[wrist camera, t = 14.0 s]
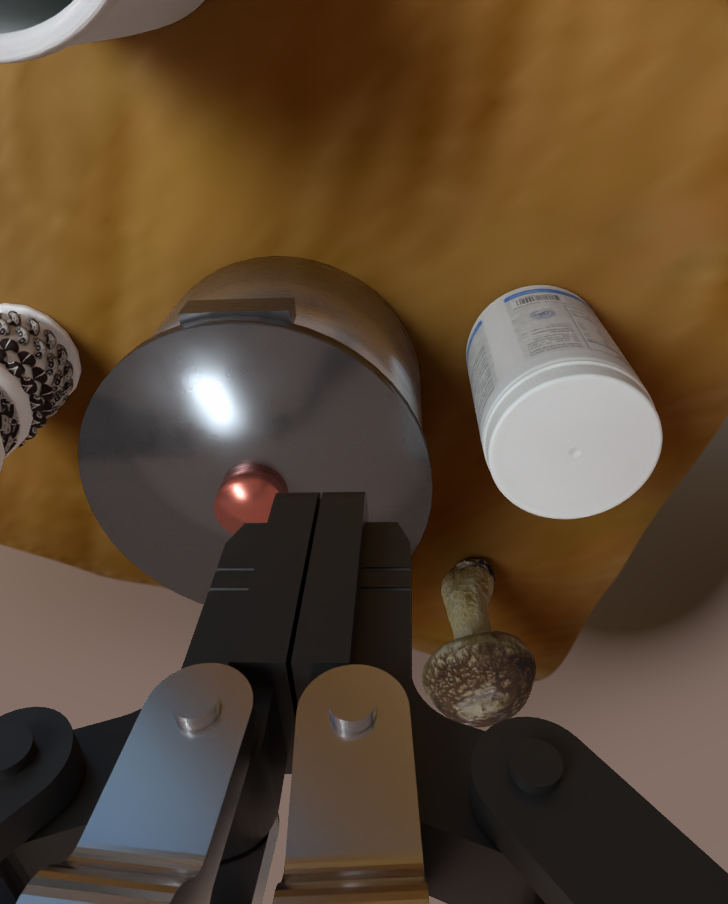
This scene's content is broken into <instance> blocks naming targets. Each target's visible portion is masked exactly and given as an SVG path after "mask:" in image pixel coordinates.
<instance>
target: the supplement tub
mask: <svg viewBox="0 0 728 904" xmlns="http://www.w3.org/2000/svg"><path fill="white" fill-rule="evenodd" d="M466 363H467V369H468V375H469V380H470V385H471V390H472V395H473V401H474V406H475V412H476V417H477V422H478V427H479V432H480V438H481V443H482V447H483V452H484V456H485V459H486V463H487V465H488V468H489V470H490V472H491V475H492V477H493V480H494V482H495V484H496V485H497V487H498V488H499V490H500V491H501V492H502V494H503V495H504V496H505V497H506V498H507V499H508V500H509V501H511V502H512V503H513V504H515V505H516V506H518V507H519V508H521V509H523V510H525V511H527V512H529V513H532V514H535V515H538V516H542V517H547V518H553V519H576V518H583V517H588V516H592V515H596V514H599V513H602V512H604V511H607V510H609V509H611V508H613V507H615V506H617V505H619V504H620V503H622V502H624V501H625V500H626V499H628V498H629V497H630V496H632V495H633V494H634V493H635V492H636V491H637V490H638V489H640V488H641V487H642V485H643V484H644V483H645V482H646V481H647V479H648V478H649V477H650V475H651V474H652V472H653V470H654V468H655V466H656V464H657V462H658V459H659V457H660V453H661V449H662V441H663V433H662V426H661V421H660V419H659V416H658V413H657V411H656V409H655V406H654V403H653V401H652V399H651V397H650V395H649V393H648V392H647V390H646V389H645V387H644V385H643V384H642V382H641V381H640V379H639V378H638V376H637V375H636V373H635V372H634V370H633V369H632V367H631V366H630V364H629V363H628V361H627V360H626V358H625V357H624V355H623V354H622V352H621V351H620V349H619V348H618V347H617V345H616V344H615V342H614V341H613V339H612V338H611V336H610V335H609V333H608V332H607V330H606V329H605V328H604V326H603V325H602V323H601V322H600V320H599V319H598V318H597V316H596V315H595V313H594V312H593V310H592V309H591V307H590V306H589V305H588V304H587V303H586V302H585V301H584V300H583V299H581V298H580V297H579V296H577V295H576V294H574V293H572V292H570V291H568V290H565V289H562V288H559V287H555V286H549V285H533V286H526V287H522V288H518V289H515V290H513V291H510V292H508V293H506V294H504V295H502V296H501V297H499V298H498V299H496V300H495V301H494V302H492V303H491V304H490V305H489V306H488V307H487V308H486V309H485V310H484V311H483V312H482V313H481V315H480V316H479V317H478V319H477V320H476V322H475V324H474V326H473V328H472V330H471V333H470V335H469V338H468V342H467V347H466Z"/></svg>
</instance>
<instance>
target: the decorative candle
mask: <svg viewBox="0 0 728 904" xmlns="http://www.w3.org/2000/svg"><path fill="white" fill-rule="evenodd" d="M81 372H82V370H81V364H80V357H79V351H78V350H77V348H76V346H75V344H74V343H73V341H72V339H71V338H70V336H69V334H68V333H67V331H66V330H65V329H64V328H62V327H61V326H60V325H59V324H58V323H57V322H56V321H55V320H53V319H52V318H51V317H50V316H49V315H47V314H45V313H43V312H41V311H38V310H36V309H34V308H32V307H30V306H27V305H21V304H10V303H2V304H0V472H1V468H2V464H3V461H4V458H6V457H7V456H8V455H9V454H10V453H11V452H12V451H13V450H15V449H16V448H18V447H21V446H23V445H24V443H25V439H26V440H29V439H32V438H33V437H35V435H36V433H37V429H36V428H41V427H43V426H44V425H45V424H46V421H47V419H48V417H51V416H53V415H54V414H56V413H57V411H58V410H59V407H60V406H62V405H63V404H64V403H65V402H66V401H67V399H68V396H69V395H70V394H71V393H72V392H73V391H74V390H75V389H76V388H77V385H78V381H79V378H80V375H81Z"/></svg>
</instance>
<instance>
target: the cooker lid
mask: <svg viewBox="0 0 728 904" xmlns="http://www.w3.org/2000/svg"><path fill="white" fill-rule="evenodd" d="M78 461H79V471H80V477H81V481H82V485H83V489H84V492H85V495H86V497H87V500H88V502H89V505H90V507H91V510H92V512H93V513H94V515H95V517H96V519H97V520H98V522H99V524H100V526H101V527H102V529H103V530H104V531H105V533H106V534H107V535H108V537H109V538H110V539H111V541H112V542H113V544H114V545H115V546H116V547H117V548H118V549H119V550H120V551H121V552H122V553H123V554H124V555H125V556H126V557H127V558H128V559H129V560H130V561H131V562H132V563H133V564H135V565H136V566H137V567H138V568H139V569H140V570H142V571H143V572H144V573H145V574H147V575H148V576H150V577H151V578H153V579H154V580H156V581H157V582H158V583H160V584H162V585H163V586H165V587H167V588H169V589H171V590H172V591H174V592H176V593H178V594H180V595H182V596H185V597H187V598H189V599H191V600H193V601H196V602H198V603H201V604H204V603H205V600H206V597H207V595H208V592H210V586H211V583H212V580H213V577H214V575H215V572H217V566H218V563H219V560H220V557H221V555H222V552H223V549H224V546H225V543H226V542H227V541H228V540H229V539H230V538H231V537H232V536H233V535H234V534H235V533H236V532H237V531H238V530H239V529H240V528H241V527H242V526H243V524H244V523H267V521H268V518H269V514H270V511H271V507H272V504H273V500H274V497H275V495H276V493H298V492H320V493H321V495H322V493H323V492H367V499H368V513H369V522H398V523H399V525H400V527H401V528H402V530H403V532H404V533H405V535H406V536H407V538H408V540H409V541H410V547H411V555H412V554H413V552H414V551H415V549H416V547H417V546H418V544H419V542H420V540H421V538H422V535H423V533H424V531H425V528H426V526H427V522H428V518H429V514H430V510H431V501H432V473H431V460H430V455H429V451H428V446H427V442H426V438H425V436H424V434H423V431H422V429H421V426H420V424H419V421H418V419H417V417H416V416H415V414H414V412H413V410H412V409H411V407H410V405H409V404H408V402H407V400H406V399H405V398H404V397H403V395H402V394H401V393H400V391H399V390H398V389H397V388H396V386H395V385H394V384H393V383H392V382H391V381H390V380H389V379H388V378H387V377H386V376H385V375H384V374H383V373H382V372H381V371H380V370H379V369H378V368H377V367H376V366H375V365H373V364H372V363H371V362H369V361H368V360H367V359H365V358H364V357H363V356H361V355H360V354H359V353H357V352H356V351H355V350H353V349H351V348H349V347H348V346H346V345H344V344H342V343H341V342H339V341H337V340H335V339H334V338H331V337H329V336H327V335H324V334H322V333H320V332H317V331H315V330H313V329H310V328H307V327H304V326H300V325H297V324H293V323H290V322H286V321H282V320H275V319H269V318H263V317H250V316H226V317H215V318H206V319H202V320H197V321H193V322H188V323H184V324H181V325H179V326H176V327H173V328H171V329H168V330H165V331H163V332H161V333H159V334H157V335H155V336H153V337H152V338H150V339H148V340H146V341H144V342H143V343H141V344H140V345H139V346H137V347H136V348H135V349H133V350H132V351H131V352H130V353H128V354H127V355H126V356H125V357H124V358H123V359H122V360H121V361H120V362H119V363H118V364H117V365H116V366H115V367H114V369H113V370H112V371H111V372H110V373H109V374H108V375H107V377H106V378H105V379H104V380H103V381H102V383H101V384H100V386H99V387H98V389H97V390H96V392H95V394H94V395H93V397H92V398H91V400H90V403H89V405H88V407H87V410H86V412H85V414H84V417H83V421H82V425H81V430H80V434H79V445H78Z"/></svg>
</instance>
